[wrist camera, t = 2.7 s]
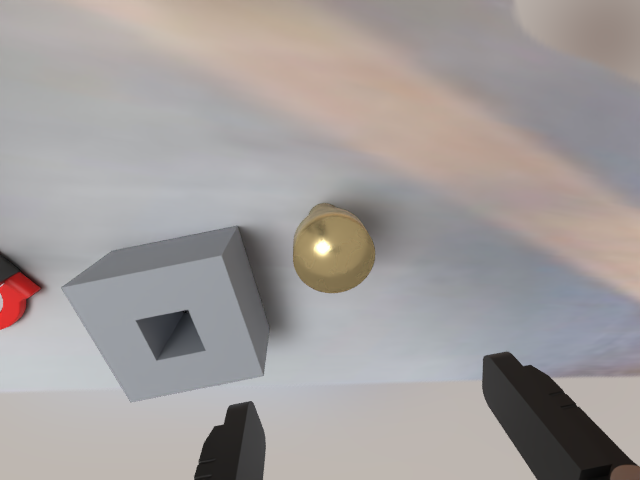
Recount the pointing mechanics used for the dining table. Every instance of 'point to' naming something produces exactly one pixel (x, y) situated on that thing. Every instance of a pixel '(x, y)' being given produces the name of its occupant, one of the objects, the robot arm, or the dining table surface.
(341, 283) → the brass knob
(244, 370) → the slate block
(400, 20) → the dining table surface
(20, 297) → the tow hook
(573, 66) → the dining table surface
